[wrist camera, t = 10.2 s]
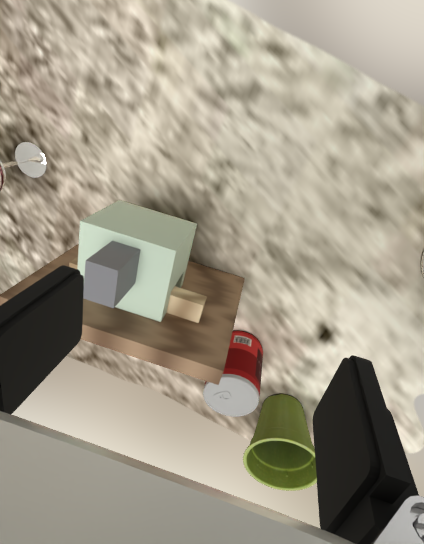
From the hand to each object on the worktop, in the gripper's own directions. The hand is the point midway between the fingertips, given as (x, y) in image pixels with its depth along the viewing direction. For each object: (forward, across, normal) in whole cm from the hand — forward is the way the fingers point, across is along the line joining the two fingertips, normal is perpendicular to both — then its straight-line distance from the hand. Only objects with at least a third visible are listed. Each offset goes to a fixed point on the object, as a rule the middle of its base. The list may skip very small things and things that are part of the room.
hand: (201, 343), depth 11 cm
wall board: (+35, +11, +18) cm, 41 cm away
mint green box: (+28, +12, +10) cm, 32 cm away
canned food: (+36, -4, +28) cm, 46 cm away
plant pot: (+36, -14, +39) cm, 55 cm away
